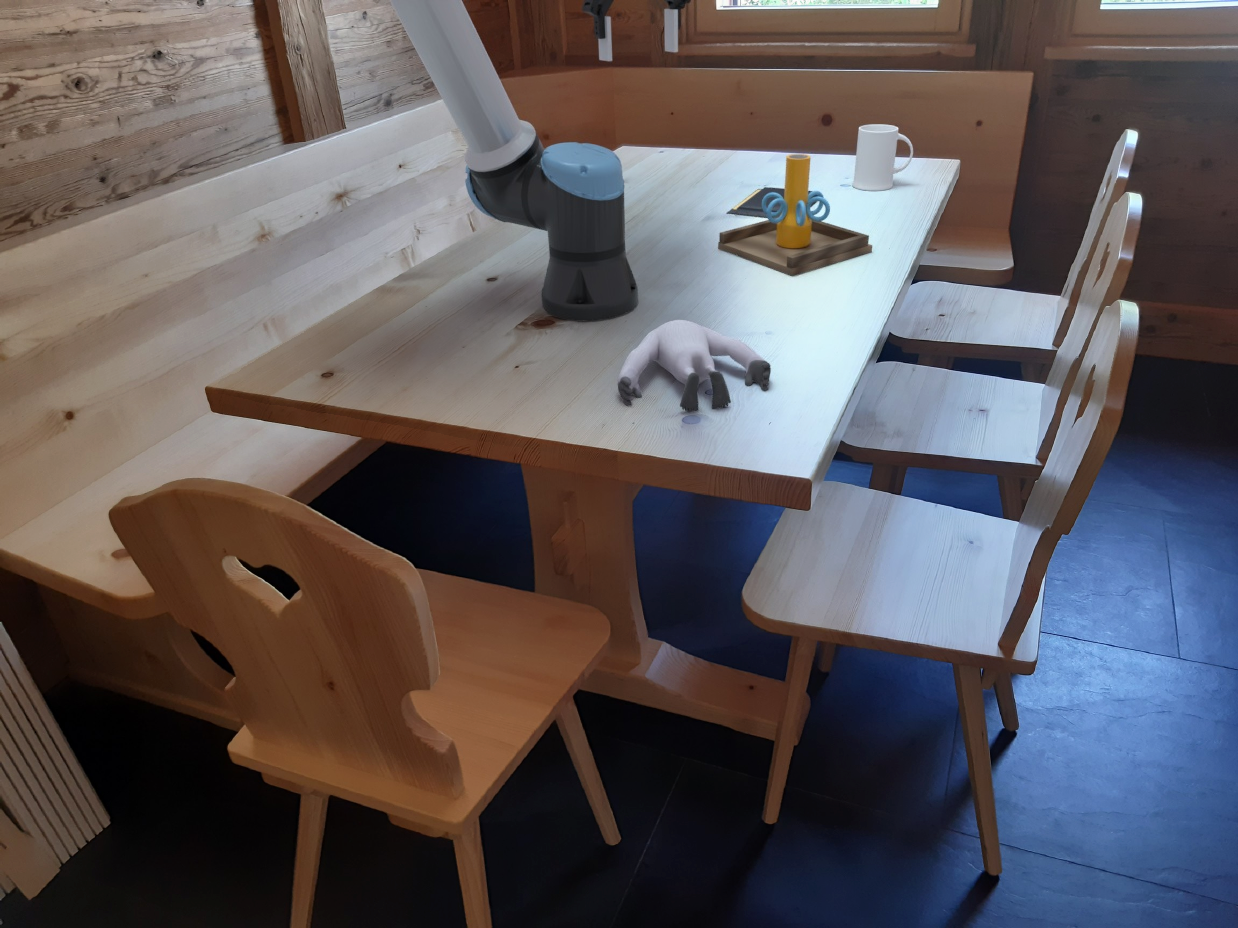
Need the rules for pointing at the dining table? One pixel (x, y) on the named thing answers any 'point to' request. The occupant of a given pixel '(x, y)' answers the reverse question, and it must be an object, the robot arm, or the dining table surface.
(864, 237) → the open-sided tray
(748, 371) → the yeti figurine
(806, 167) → the cylinder
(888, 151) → the mug
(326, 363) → the dining table surface
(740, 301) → the dining table surface
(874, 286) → the dining table surface
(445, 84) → the robot arm
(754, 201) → the wallet
